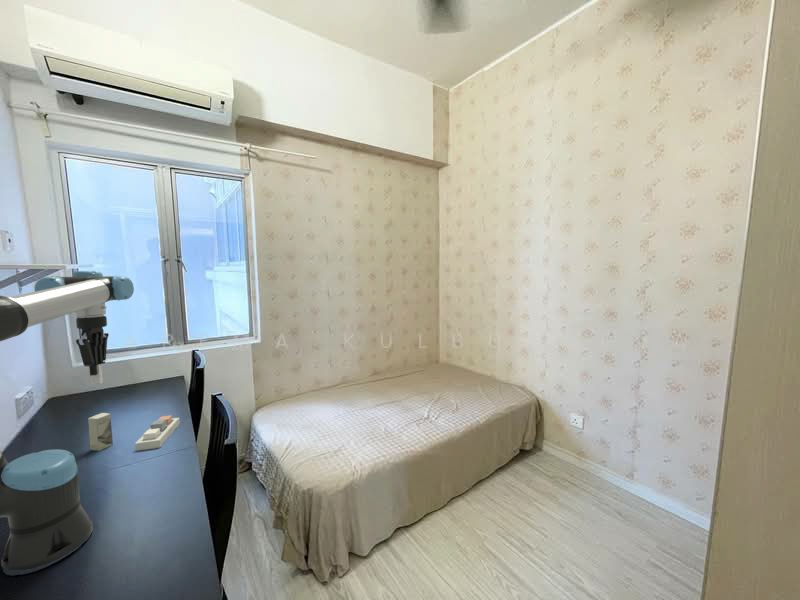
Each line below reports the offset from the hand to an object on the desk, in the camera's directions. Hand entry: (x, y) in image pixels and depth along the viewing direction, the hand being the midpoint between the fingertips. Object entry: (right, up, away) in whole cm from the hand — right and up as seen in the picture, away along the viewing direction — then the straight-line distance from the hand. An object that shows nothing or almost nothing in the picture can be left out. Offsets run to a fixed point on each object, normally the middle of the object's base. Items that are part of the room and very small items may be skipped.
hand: (96, 383), depth 110 cm
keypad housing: (+5, -28, +22) cm, 36 cm away
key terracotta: (+4, -25, +27) cm, 37 cm away
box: (-11, -29, +14) cm, 34 cm away
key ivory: (+7, -26, +16) cm, 31 cm away
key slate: (+5, -25, +21) cm, 33 cm away
